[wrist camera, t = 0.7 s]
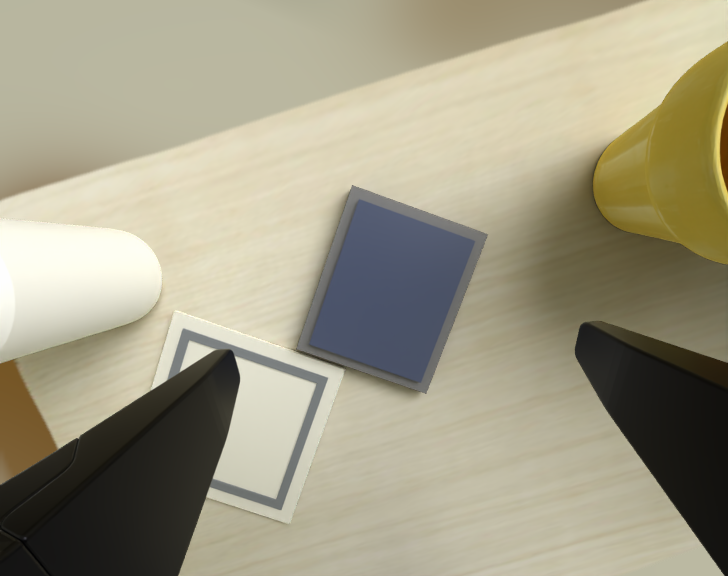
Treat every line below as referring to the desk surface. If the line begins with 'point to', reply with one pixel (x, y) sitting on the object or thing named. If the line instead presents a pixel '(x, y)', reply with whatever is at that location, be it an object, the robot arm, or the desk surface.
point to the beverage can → (70, 283)
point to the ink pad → (390, 289)
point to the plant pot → (675, 165)
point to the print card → (260, 413)
